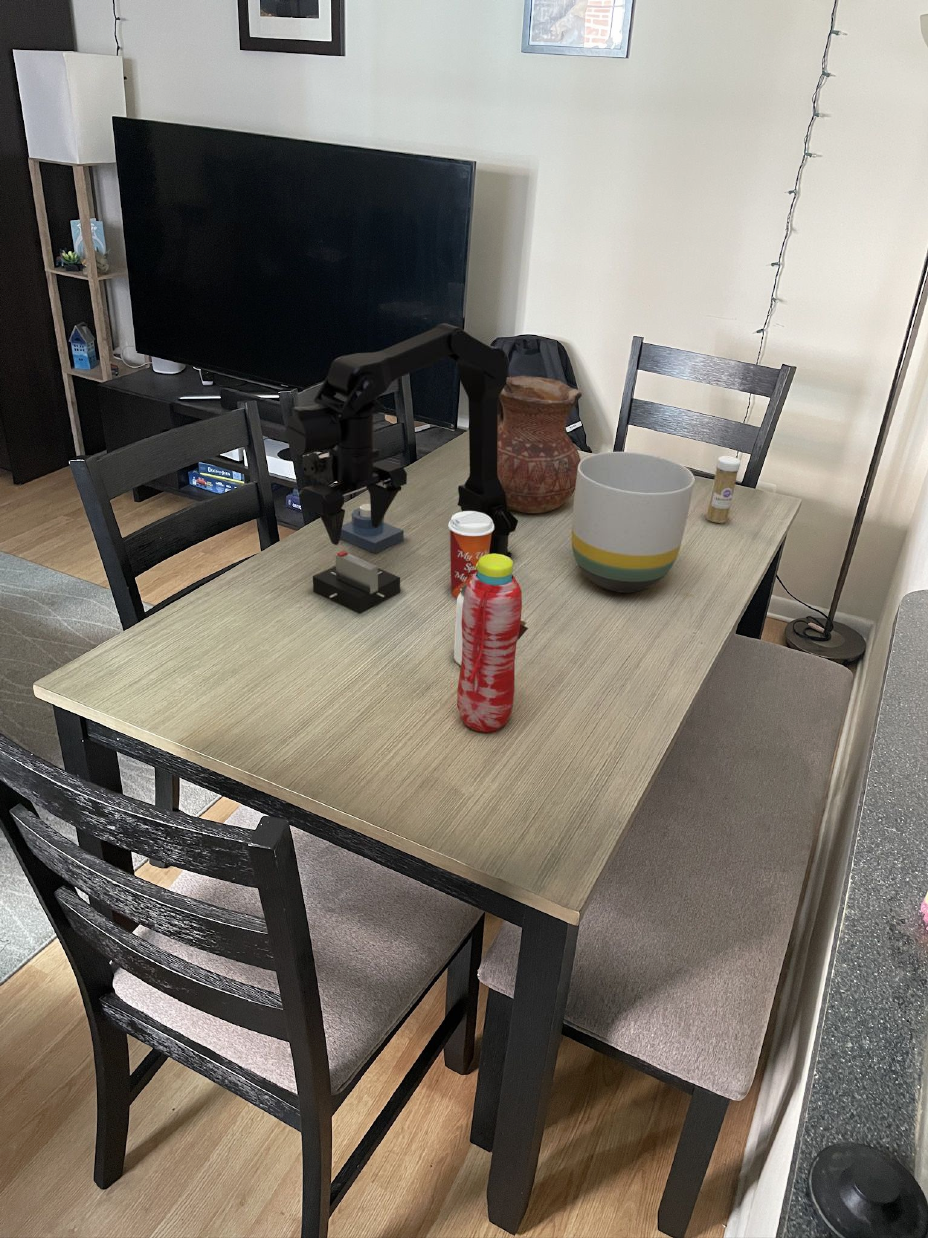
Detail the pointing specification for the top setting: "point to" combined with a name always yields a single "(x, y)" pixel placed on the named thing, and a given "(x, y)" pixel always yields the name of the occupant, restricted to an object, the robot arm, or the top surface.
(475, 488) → the robot arm
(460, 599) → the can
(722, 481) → the sprinkles bottle
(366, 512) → the pump button
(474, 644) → the water bottle
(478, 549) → the paper cup
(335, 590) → the black dial base
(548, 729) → the top surface
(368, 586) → the grey block red tab
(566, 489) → the jug
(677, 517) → the planter
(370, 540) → the blue stepped block
